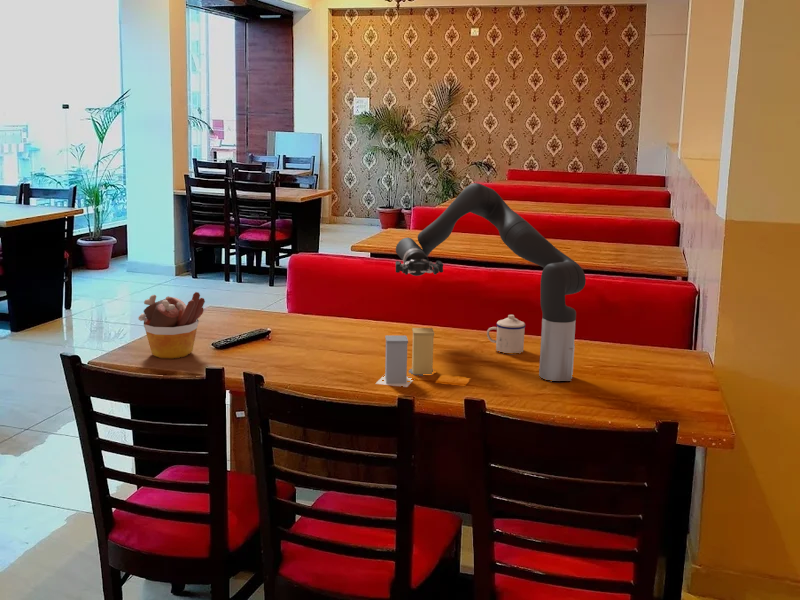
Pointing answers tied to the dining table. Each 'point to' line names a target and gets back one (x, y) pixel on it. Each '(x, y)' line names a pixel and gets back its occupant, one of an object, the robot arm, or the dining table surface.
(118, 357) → the dining table surface
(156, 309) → the bucket of meat
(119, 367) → the dining table surface
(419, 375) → the felt coaster
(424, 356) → the ochre tea tin
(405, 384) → the cream tile
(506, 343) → the teacup with lid
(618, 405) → the dining table surface
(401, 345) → the slate tea tin
